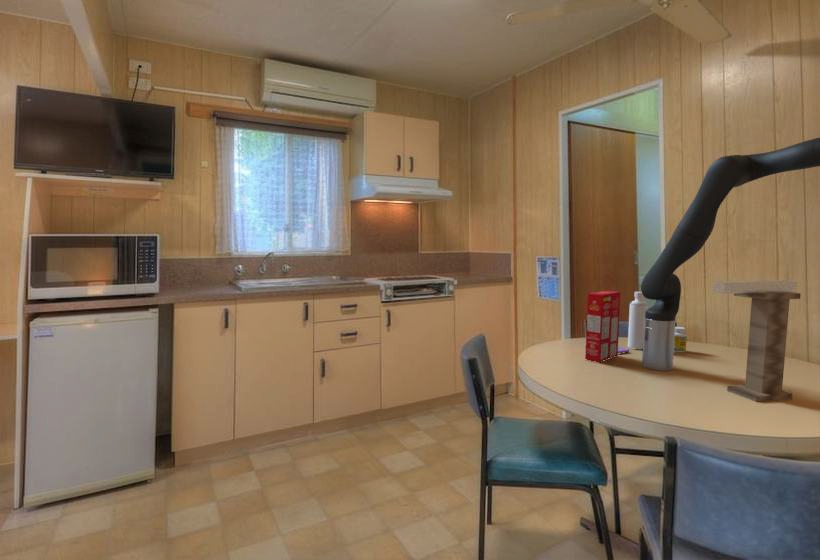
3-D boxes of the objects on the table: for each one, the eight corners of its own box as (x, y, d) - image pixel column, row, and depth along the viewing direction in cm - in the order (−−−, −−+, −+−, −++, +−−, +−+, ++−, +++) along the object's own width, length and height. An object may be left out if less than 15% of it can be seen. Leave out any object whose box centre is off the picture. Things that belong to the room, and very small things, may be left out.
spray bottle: (644, 351, 176) (647, 289, 174) (626, 348, 181) (629, 288, 178) (647, 347, 182) (650, 288, 180) (629, 345, 186) (632, 287, 184)
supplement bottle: (675, 348, 180) (677, 325, 180) (688, 351, 176) (690, 328, 175) (667, 350, 178) (668, 327, 177) (680, 353, 173) (681, 329, 172)
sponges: (617, 355, 171) (617, 351, 171) (591, 348, 182) (591, 344, 182) (629, 354, 174) (629, 349, 174) (603, 346, 185) (604, 342, 185)
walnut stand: (756, 401, 121) (764, 294, 118) (727, 390, 130) (734, 290, 127) (791, 398, 123) (800, 293, 121) (760, 388, 132) (768, 289, 129)
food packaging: (604, 353, 172) (606, 290, 170) (617, 356, 168) (620, 291, 166) (585, 360, 163) (588, 293, 161) (599, 363, 159) (602, 294, 157)
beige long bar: (724, 293, 119) (724, 282, 119) (713, 292, 123) (713, 281, 122) (796, 292, 124) (797, 281, 123) (783, 290, 127) (784, 280, 127)
